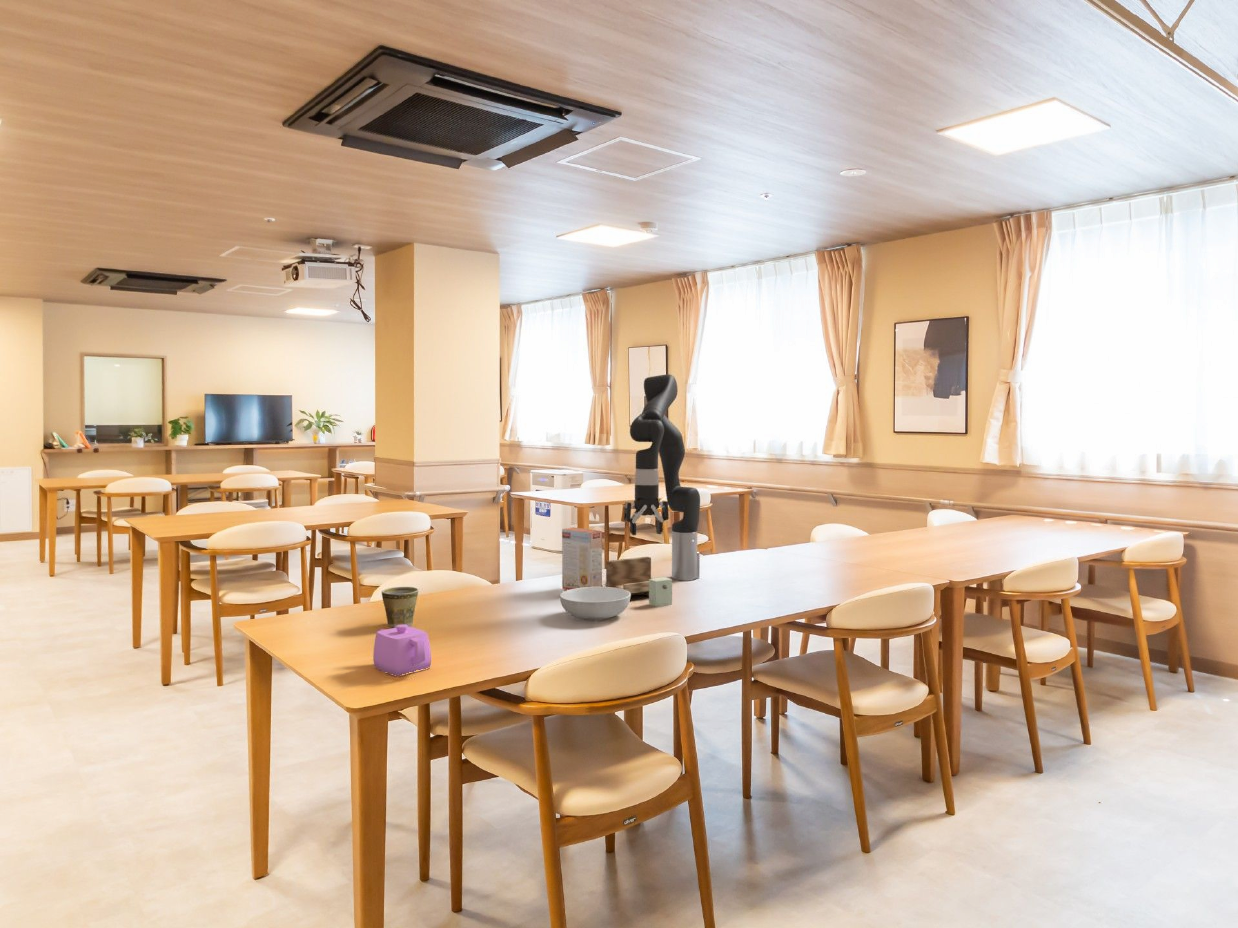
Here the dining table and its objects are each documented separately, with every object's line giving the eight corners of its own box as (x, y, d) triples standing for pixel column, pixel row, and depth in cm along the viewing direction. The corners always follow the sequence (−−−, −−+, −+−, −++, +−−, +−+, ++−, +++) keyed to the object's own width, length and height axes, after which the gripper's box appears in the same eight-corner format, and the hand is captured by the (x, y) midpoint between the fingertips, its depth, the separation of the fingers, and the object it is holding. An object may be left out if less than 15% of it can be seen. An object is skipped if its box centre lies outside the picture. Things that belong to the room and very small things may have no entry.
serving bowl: (588, 605, 258) (588, 583, 257) (644, 614, 246) (644, 591, 245) (545, 618, 241) (545, 595, 240) (602, 629, 229) (602, 605, 228)
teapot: (362, 664, 197) (361, 622, 196) (401, 655, 204) (400, 614, 204) (401, 681, 184) (400, 636, 184) (441, 671, 192) (441, 627, 191)
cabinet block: (664, 602, 262) (665, 577, 261) (673, 605, 257) (673, 579, 257) (649, 604, 259) (649, 579, 258) (657, 607, 254) (657, 581, 254)
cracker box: (603, 592, 275) (603, 530, 274) (590, 595, 271) (589, 532, 270) (574, 586, 285) (574, 526, 284) (561, 589, 281) (561, 528, 280)
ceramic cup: (417, 629, 229) (416, 593, 228) (380, 630, 227) (379, 594, 226) (420, 617, 241) (420, 584, 241) (385, 619, 240) (385, 585, 239)
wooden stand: (647, 592, 276) (647, 556, 275) (661, 596, 269) (661, 560, 268) (606, 597, 268) (606, 560, 267) (619, 602, 261) (619, 565, 260)
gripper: (662, 481, 265) (662, 531, 266) (621, 482, 260) (620, 533, 261) (672, 483, 258) (671, 535, 259) (629, 484, 253) (629, 537, 254)
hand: (646, 534), depth 260 cm, fingers open, 8 cm apart
